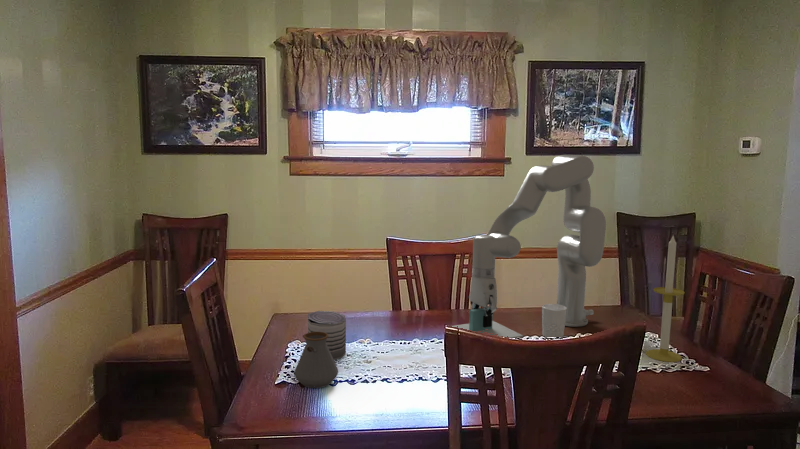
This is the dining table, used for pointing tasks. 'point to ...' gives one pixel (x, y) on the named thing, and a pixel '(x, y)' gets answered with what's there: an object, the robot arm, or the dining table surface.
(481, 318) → the slab
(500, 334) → the mat
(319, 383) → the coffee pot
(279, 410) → the dining table surface
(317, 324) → the can
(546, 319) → the white cup
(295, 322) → the dining table surface
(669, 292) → the candle
